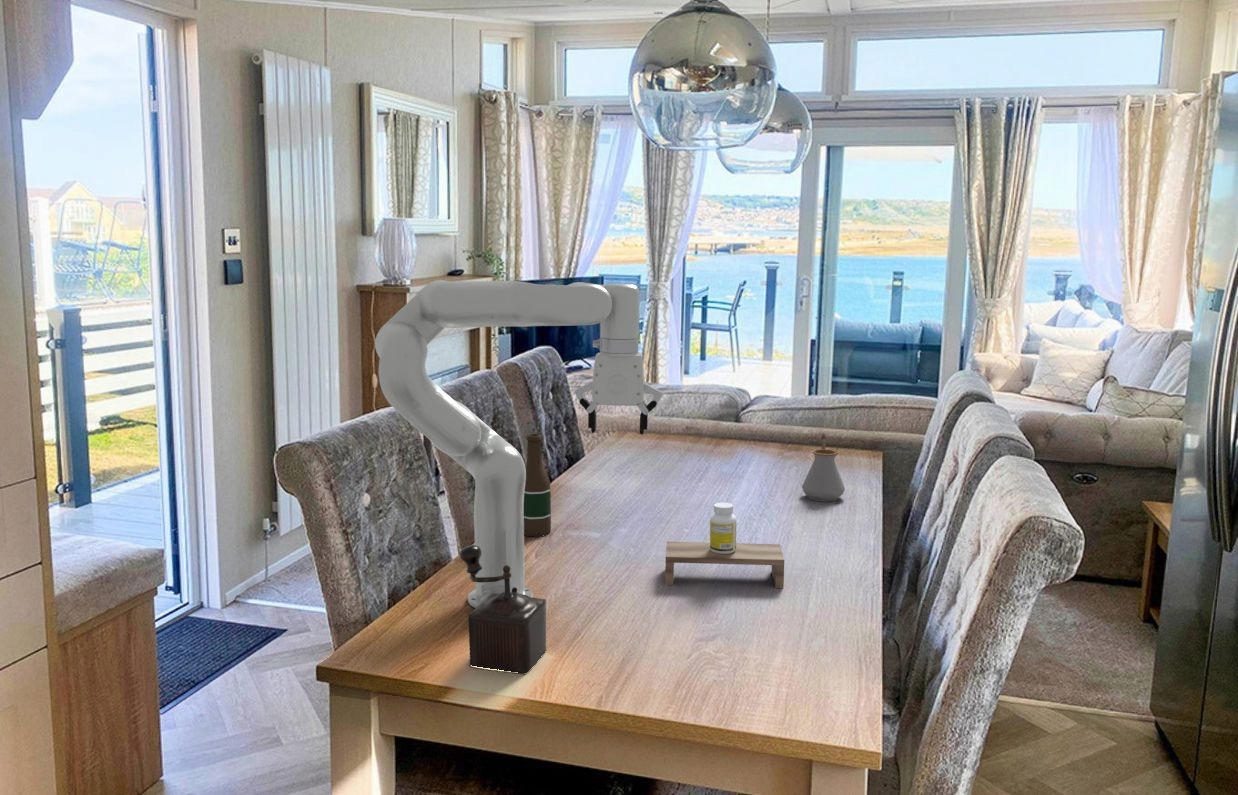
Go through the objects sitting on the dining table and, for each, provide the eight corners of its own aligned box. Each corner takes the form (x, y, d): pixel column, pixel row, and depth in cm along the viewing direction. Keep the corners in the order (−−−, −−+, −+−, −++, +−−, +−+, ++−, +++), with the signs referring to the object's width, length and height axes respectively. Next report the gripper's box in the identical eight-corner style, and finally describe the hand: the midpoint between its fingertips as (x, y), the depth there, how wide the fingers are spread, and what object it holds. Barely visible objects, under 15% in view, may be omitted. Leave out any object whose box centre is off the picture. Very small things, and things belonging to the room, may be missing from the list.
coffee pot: (845, 504, 259) (847, 449, 257) (801, 502, 261) (803, 447, 259) (842, 484, 280) (844, 433, 277) (801, 482, 282) (803, 431, 279)
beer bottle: (546, 538, 230) (545, 438, 226) (514, 536, 231) (513, 437, 227) (555, 528, 237) (554, 432, 233) (524, 526, 239) (523, 430, 235)
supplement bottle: (719, 544, 206) (720, 499, 205) (740, 550, 203) (742, 504, 201) (704, 551, 202) (705, 505, 201) (726, 556, 199) (727, 510, 197)
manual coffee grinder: (550, 648, 169) (548, 548, 166) (526, 675, 159) (525, 570, 156) (467, 637, 174) (465, 540, 171) (440, 664, 163) (436, 561, 160)
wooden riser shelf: (783, 588, 198) (784, 559, 197) (665, 584, 200) (665, 556, 199) (779, 571, 208) (779, 544, 207) (666, 568, 209) (666, 541, 208)
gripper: (573, 347, 188) (572, 434, 191) (662, 350, 187) (660, 437, 190) (577, 343, 196) (576, 427, 198) (663, 346, 194) (661, 430, 197)
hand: (617, 432), depth 194 cm, fingers open, 9 cm apart
